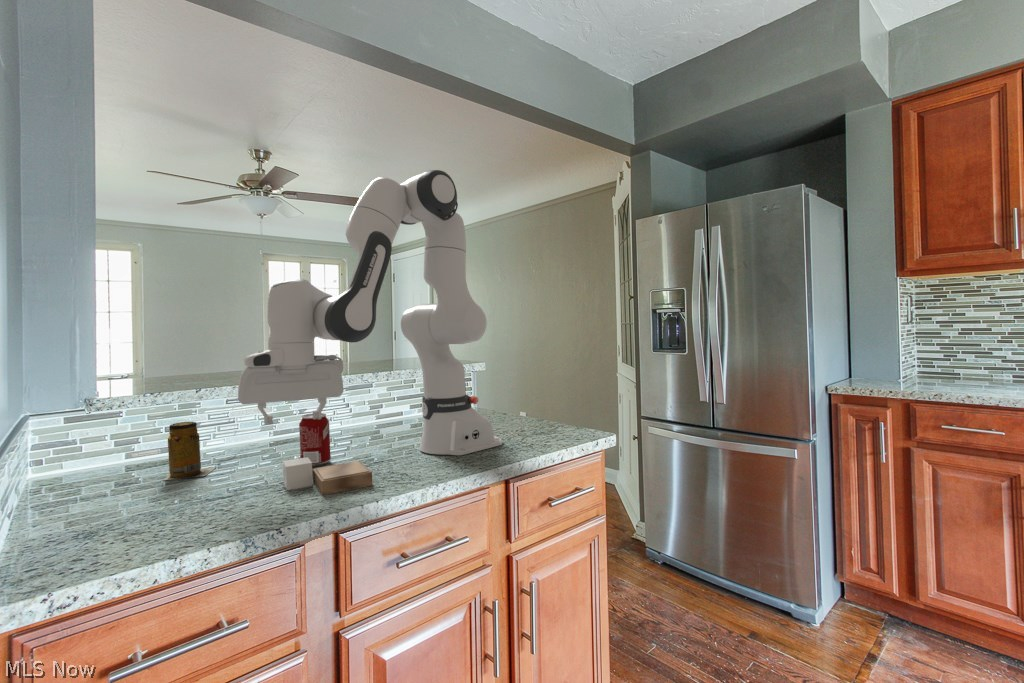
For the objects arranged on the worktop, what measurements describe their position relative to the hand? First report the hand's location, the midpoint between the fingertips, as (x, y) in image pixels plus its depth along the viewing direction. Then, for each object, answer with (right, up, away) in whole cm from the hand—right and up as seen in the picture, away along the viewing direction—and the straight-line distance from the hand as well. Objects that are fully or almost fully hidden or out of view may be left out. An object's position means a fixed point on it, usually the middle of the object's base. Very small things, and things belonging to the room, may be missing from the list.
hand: (293, 421), depth 101 cm
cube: (+1, -14, +1) cm, 14 cm away
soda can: (-2, -13, +16) cm, 21 cm away
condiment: (-29, -14, +10) cm, 33 cm away
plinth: (+10, -13, +1) cm, 17 cm away
